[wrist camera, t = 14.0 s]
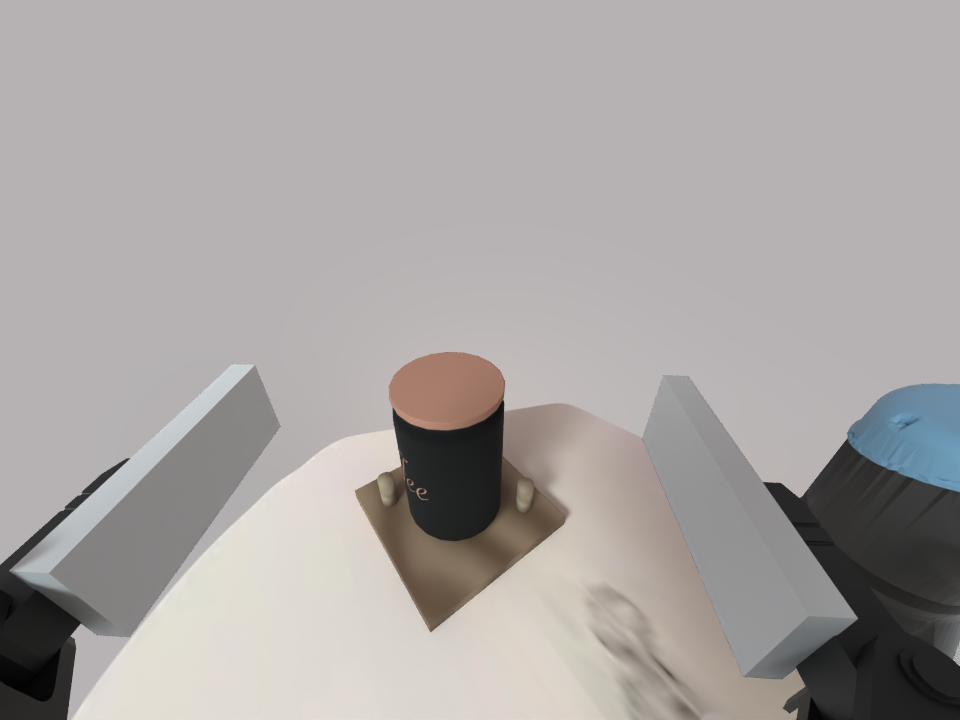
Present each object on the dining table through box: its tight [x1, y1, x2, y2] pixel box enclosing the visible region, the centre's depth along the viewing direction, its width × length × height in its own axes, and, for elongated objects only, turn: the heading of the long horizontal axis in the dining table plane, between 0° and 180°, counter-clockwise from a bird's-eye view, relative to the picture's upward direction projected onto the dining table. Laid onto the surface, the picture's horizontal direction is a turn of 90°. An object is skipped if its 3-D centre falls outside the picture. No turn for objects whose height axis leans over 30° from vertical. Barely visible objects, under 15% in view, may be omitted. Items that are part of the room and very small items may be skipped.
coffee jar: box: [389, 352, 505, 541], centre depth 39 cm, size 11×11×18 cm
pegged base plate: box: [355, 456, 565, 632], centre depth 43 cm, size 18×18×6 cm
